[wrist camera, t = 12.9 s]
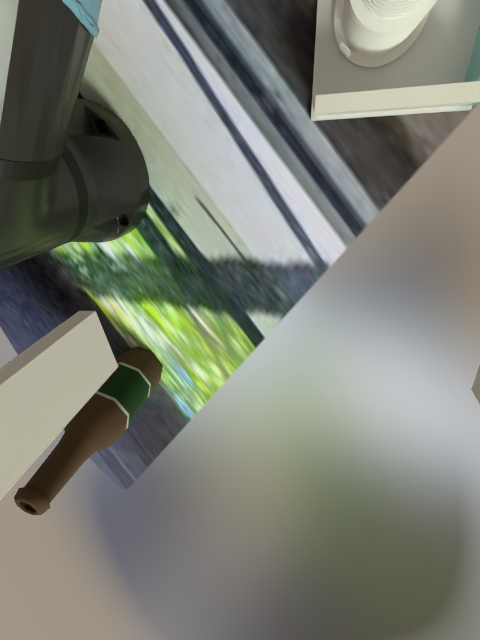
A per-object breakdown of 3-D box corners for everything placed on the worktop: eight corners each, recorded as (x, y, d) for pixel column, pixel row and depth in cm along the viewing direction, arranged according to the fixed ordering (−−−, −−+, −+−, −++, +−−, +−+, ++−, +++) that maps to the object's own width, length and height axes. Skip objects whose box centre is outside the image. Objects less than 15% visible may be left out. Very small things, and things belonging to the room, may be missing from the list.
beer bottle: (151, 388, 54) (48, 535, 35) (115, 361, 53) (-13, 498, 33) (172, 366, 50) (69, 518, 30) (134, 336, 49) (0, 475, 29)
